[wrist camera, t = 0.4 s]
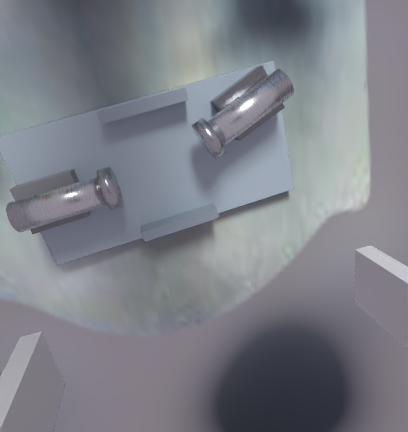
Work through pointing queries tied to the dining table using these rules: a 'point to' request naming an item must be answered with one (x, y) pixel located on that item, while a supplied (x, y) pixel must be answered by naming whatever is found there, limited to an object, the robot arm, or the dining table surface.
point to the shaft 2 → (243, 108)
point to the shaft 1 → (66, 201)
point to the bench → (147, 166)
